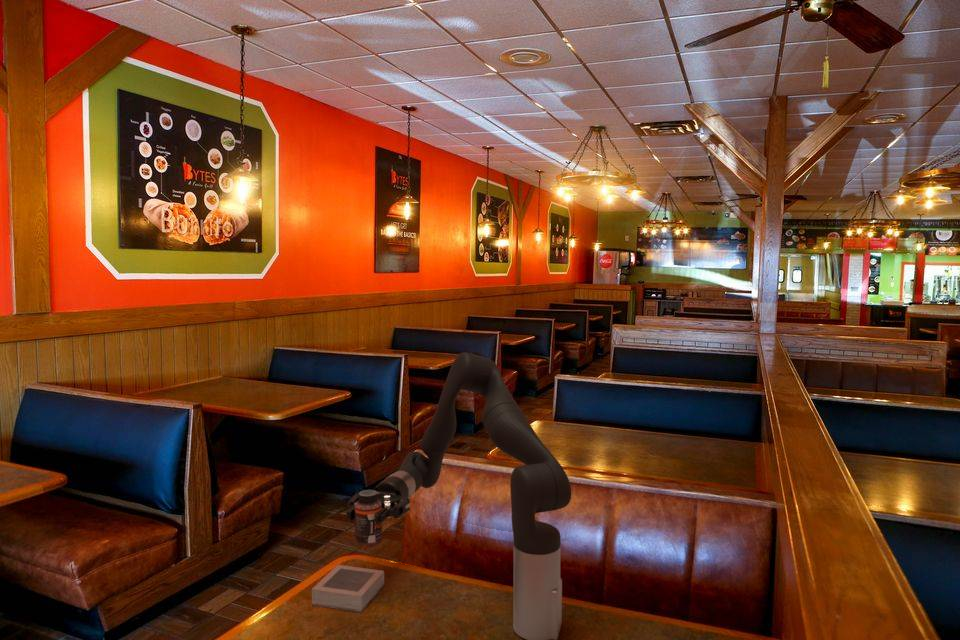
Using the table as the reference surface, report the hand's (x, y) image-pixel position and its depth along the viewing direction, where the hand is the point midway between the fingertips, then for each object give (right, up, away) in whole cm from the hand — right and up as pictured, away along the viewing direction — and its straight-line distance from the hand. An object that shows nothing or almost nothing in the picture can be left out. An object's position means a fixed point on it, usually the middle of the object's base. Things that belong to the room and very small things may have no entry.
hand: (363, 518), depth 137 cm
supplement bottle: (+1, -6, +3) cm, 7 cm away
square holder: (-3, -18, +2) cm, 18 cm away
